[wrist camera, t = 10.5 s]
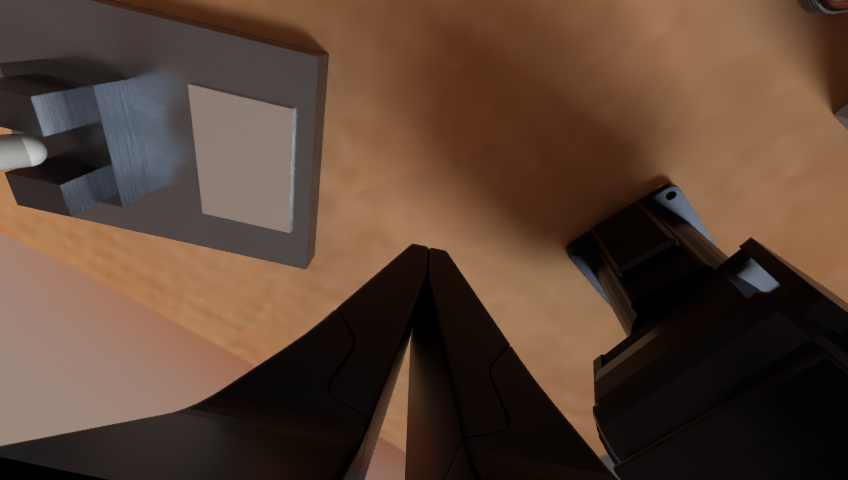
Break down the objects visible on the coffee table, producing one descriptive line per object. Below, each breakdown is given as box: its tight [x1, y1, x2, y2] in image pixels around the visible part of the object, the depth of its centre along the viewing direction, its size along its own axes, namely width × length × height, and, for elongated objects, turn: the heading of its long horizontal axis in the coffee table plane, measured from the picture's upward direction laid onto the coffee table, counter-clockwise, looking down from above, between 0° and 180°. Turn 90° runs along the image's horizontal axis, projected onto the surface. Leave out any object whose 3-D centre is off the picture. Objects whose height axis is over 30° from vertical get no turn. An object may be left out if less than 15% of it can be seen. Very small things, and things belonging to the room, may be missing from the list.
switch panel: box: [0, 0, 329, 269], centre depth 18 cm, size 16×12×6 cm
